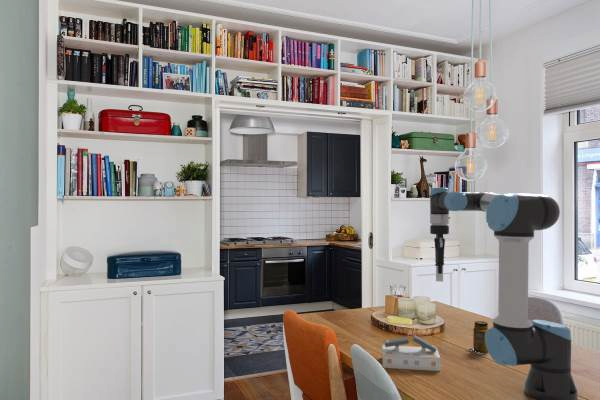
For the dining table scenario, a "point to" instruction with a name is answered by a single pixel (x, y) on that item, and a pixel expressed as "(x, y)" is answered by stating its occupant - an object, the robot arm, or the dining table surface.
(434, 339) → the dining table surface
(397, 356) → the switch unit
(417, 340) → the rocker
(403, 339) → the rocker
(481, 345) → the condiment
